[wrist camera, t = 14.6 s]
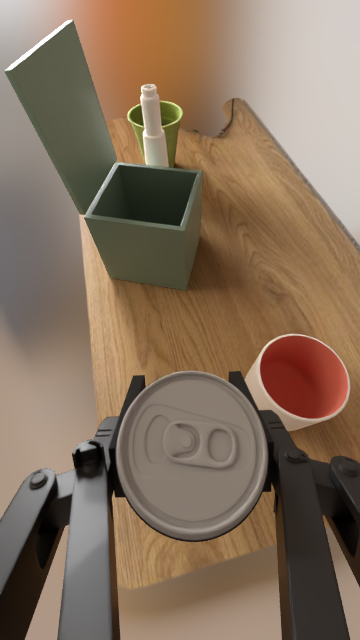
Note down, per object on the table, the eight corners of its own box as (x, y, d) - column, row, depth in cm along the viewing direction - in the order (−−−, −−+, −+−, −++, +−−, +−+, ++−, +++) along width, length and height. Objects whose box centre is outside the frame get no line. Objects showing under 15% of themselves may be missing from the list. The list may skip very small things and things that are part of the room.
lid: (73, 19, 30) (67, 20, 30) (10, 70, 23) (3, 70, 24) (117, 158, 43) (113, 158, 43) (85, 214, 37) (80, 214, 37)
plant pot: (187, 177, 63) (186, 124, 53) (137, 182, 63) (127, 130, 53) (181, 150, 69) (179, 97, 59) (136, 154, 68) (126, 102, 59)
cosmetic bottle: (143, 219, 57) (119, 92, 37) (156, 202, 59) (140, 75, 40) (169, 226, 55) (157, 99, 36) (181, 208, 58) (176, 81, 39)
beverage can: (157, 409, 21) (125, 353, 10) (230, 417, 20) (274, 367, 10) (144, 494, 18) (83, 537, 8) (228, 506, 18) (286, 569, 7)
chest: (200, 236, 54) (203, 170, 41) (186, 290, 47) (184, 231, 35) (132, 227, 56) (115, 161, 43) (109, 278, 49) (83, 217, 37)
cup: (317, 374, 39) (353, 348, 30) (308, 443, 35) (348, 436, 26) (250, 353, 41) (266, 323, 32) (234, 416, 37) (248, 402, 28)
